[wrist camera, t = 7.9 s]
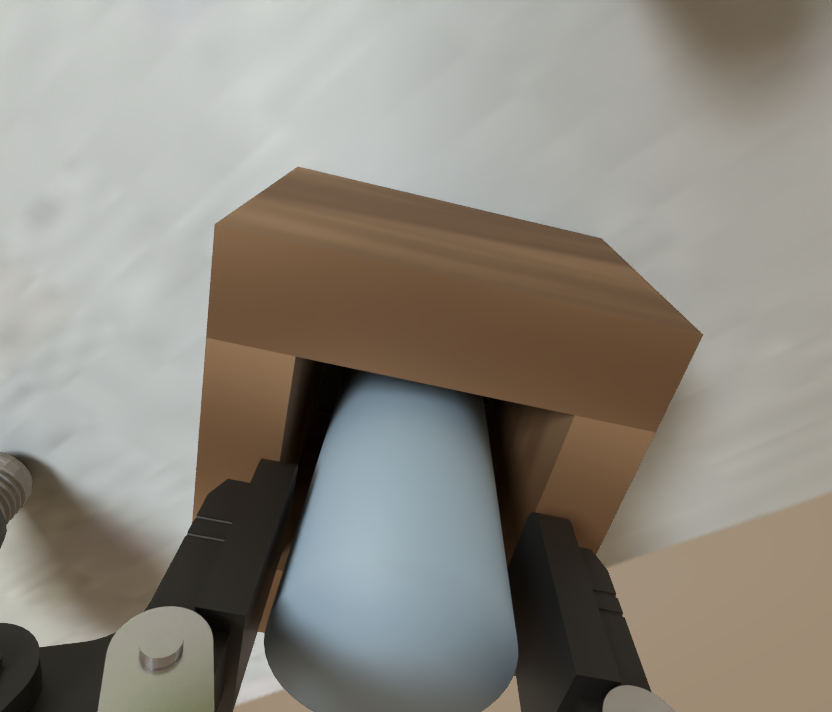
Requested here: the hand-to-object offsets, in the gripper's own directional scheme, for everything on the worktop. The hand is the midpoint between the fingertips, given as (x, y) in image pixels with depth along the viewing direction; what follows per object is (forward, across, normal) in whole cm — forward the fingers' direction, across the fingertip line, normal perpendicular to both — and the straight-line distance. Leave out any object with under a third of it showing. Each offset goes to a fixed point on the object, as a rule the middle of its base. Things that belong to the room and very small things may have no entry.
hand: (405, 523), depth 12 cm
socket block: (+8, 0, 0) cm, 8 cm away
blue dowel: (+7, 0, 0) cm, 7 cm away
